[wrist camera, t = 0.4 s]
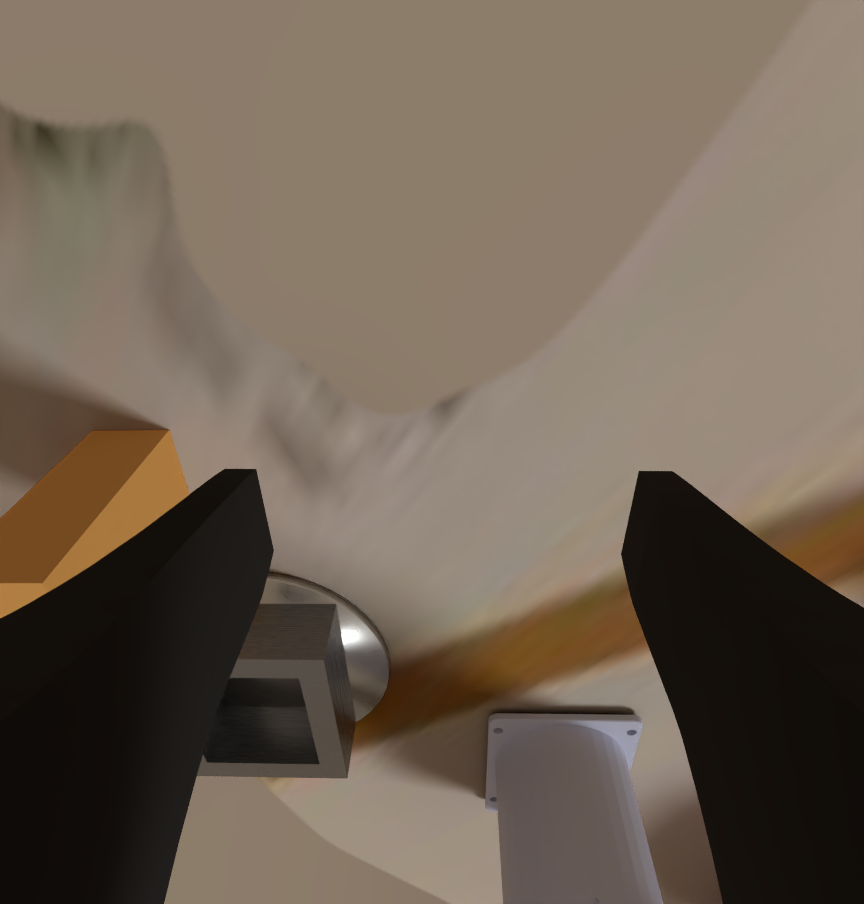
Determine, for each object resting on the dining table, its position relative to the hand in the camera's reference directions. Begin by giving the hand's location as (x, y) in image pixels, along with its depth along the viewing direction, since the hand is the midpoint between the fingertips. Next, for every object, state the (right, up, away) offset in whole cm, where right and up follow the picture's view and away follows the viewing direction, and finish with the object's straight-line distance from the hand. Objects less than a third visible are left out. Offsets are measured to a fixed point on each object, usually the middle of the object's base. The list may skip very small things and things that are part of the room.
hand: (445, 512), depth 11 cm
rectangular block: (-12, 0, +12) cm, 17 cm away
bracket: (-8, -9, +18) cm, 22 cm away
